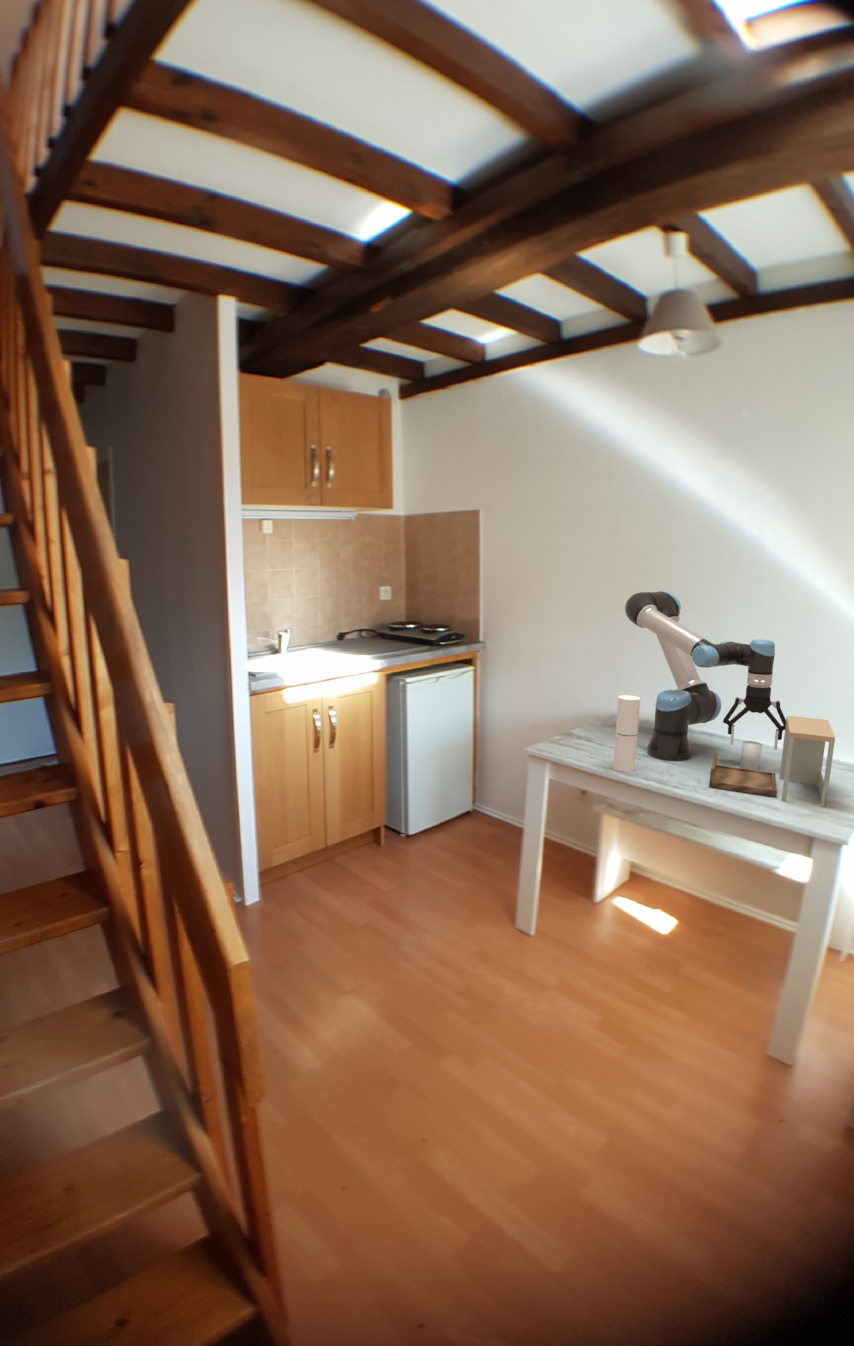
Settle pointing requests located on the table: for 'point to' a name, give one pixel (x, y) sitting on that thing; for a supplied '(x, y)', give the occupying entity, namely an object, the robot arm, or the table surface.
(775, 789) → the tray
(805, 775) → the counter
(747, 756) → the beige rounded cylinder
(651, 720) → the table surface
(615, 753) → the cylindrical container
